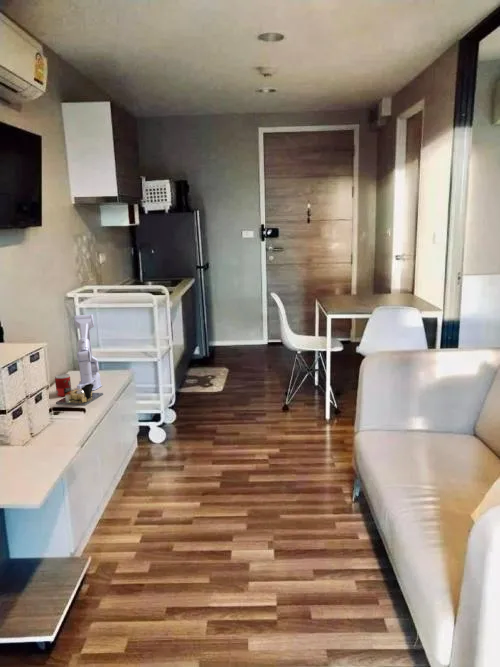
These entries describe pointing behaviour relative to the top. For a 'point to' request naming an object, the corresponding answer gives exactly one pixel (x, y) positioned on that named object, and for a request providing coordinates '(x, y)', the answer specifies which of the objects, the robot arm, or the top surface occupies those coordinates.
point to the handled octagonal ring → (78, 396)
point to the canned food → (63, 384)
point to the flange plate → (69, 401)
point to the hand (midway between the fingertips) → (88, 398)
